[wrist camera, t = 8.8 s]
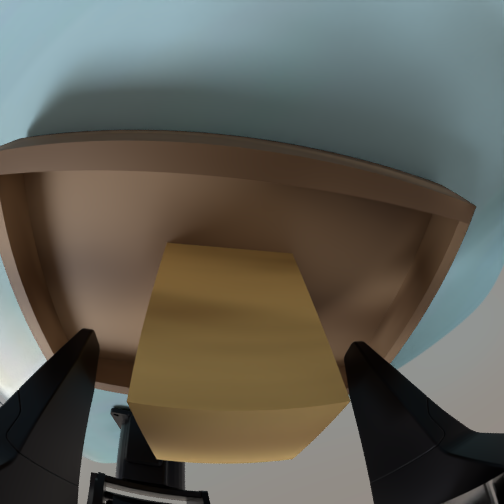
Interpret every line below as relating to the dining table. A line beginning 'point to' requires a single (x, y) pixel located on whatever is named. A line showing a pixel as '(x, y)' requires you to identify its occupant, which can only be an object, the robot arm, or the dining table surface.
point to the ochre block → (232, 359)
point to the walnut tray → (215, 232)
